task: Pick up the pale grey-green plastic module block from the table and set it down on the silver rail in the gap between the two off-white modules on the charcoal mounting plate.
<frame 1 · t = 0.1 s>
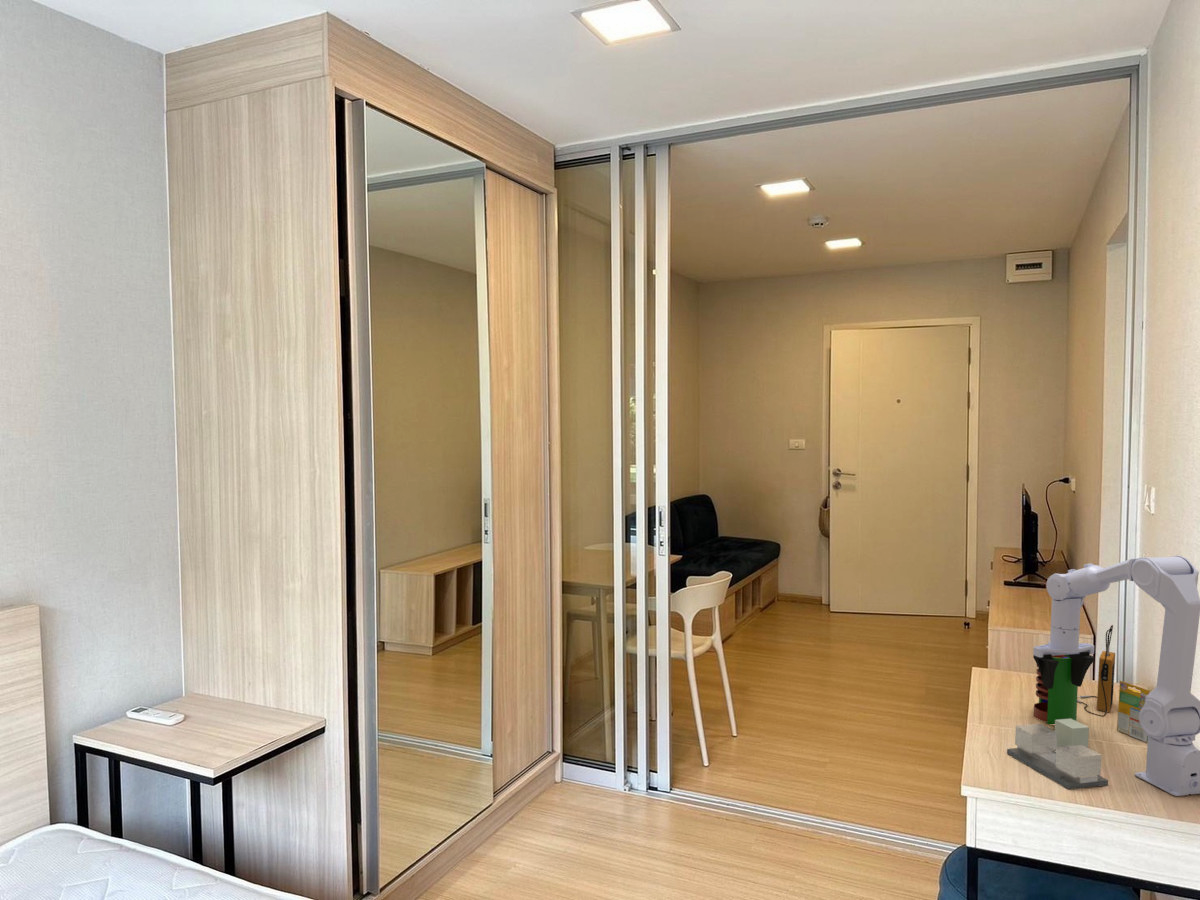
hand: (1062, 686, 195), 10 cm above the table, tool pointing down, fingers open, 7 cm apart
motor: (1054, 718, 203), on the table
module block: (1070, 751, 184), on the table
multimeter: (1087, 705, 212), on the table
rail board: (1055, 768, 174), on the table
crayon box: (1135, 736, 192), on the table
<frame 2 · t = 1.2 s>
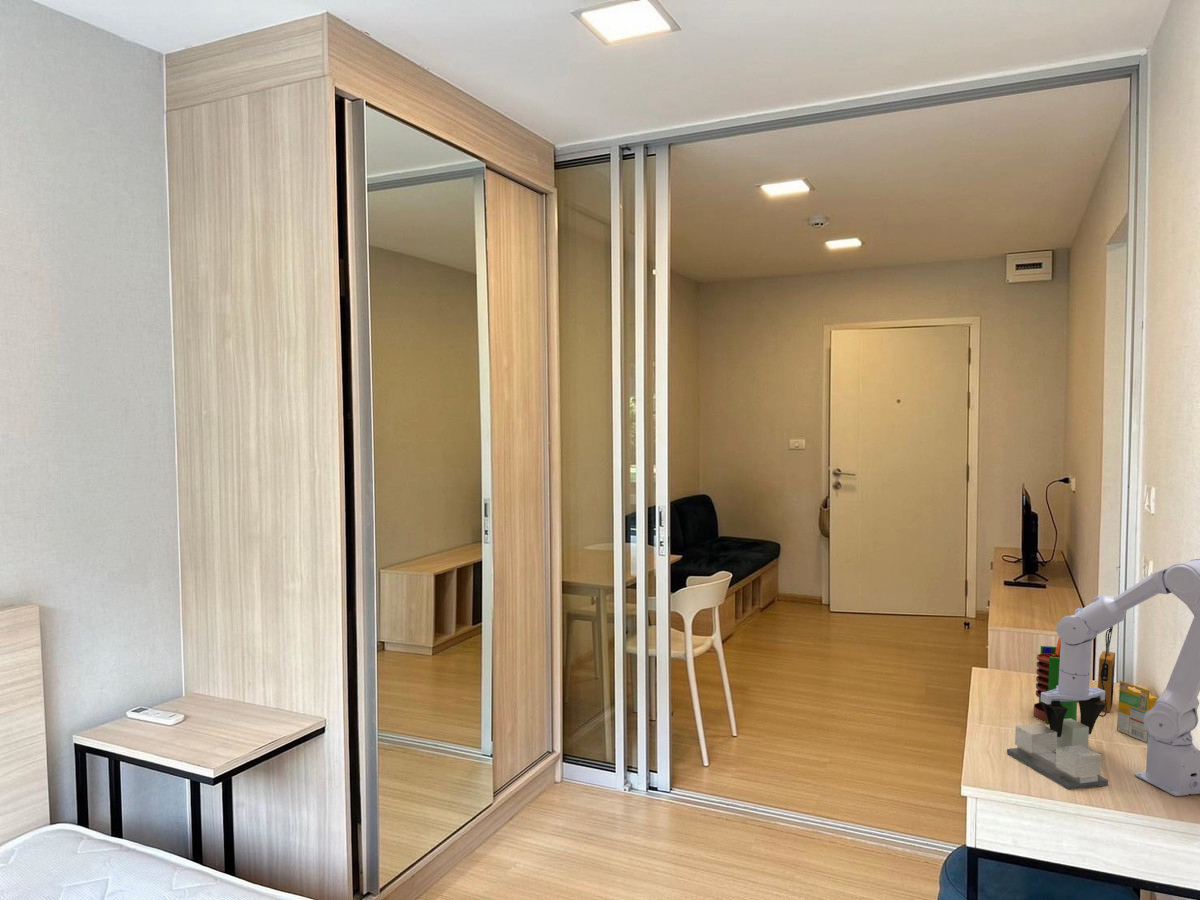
hand: (1070, 734, 183), 4 cm above the table, tool pointing down, fingers open, 7 cm apart
nothing on the table moved.
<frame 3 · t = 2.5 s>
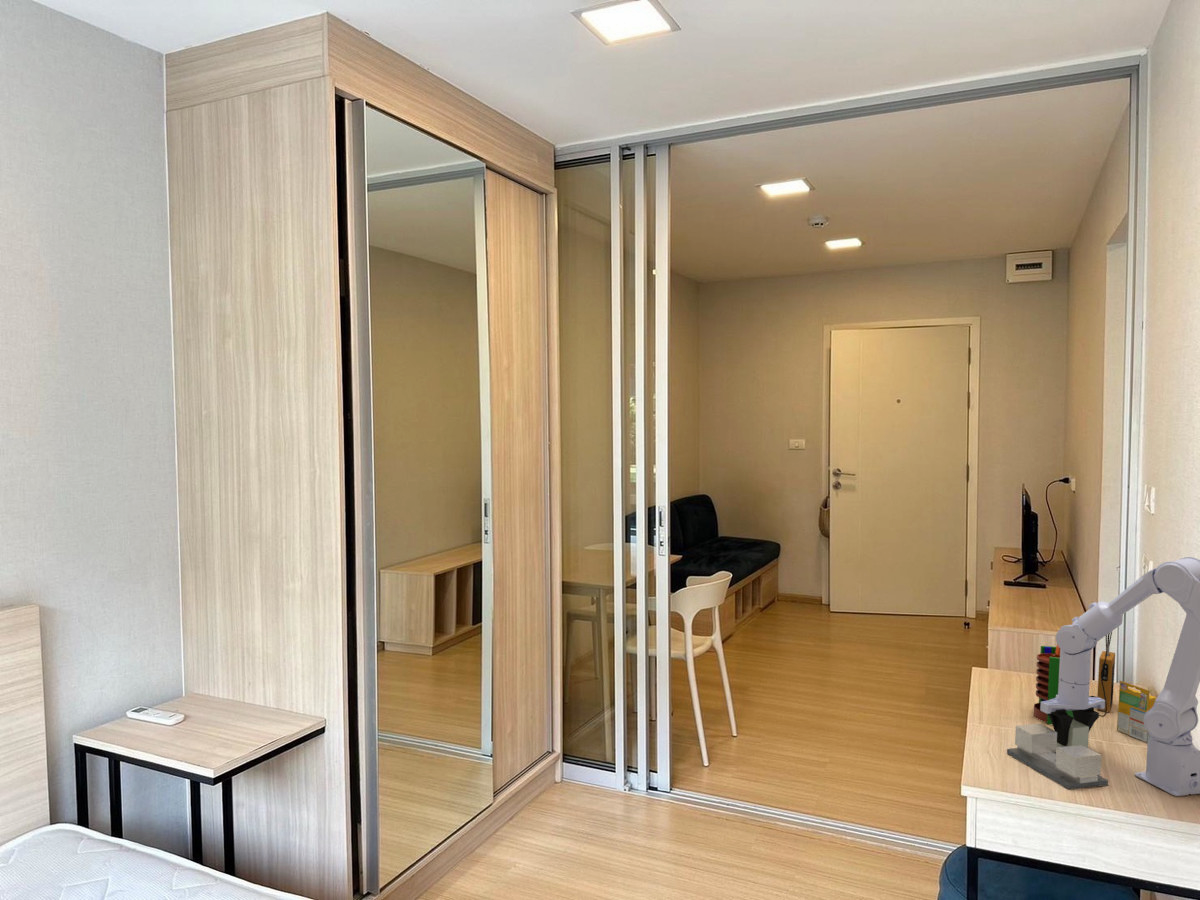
hand: (1070, 743, 183), 2 cm above the table, tool pointing down, fingers closed on module block, 4 cm apart
module block: (1070, 750, 184), on the table, touching gripper
everything else where it was.
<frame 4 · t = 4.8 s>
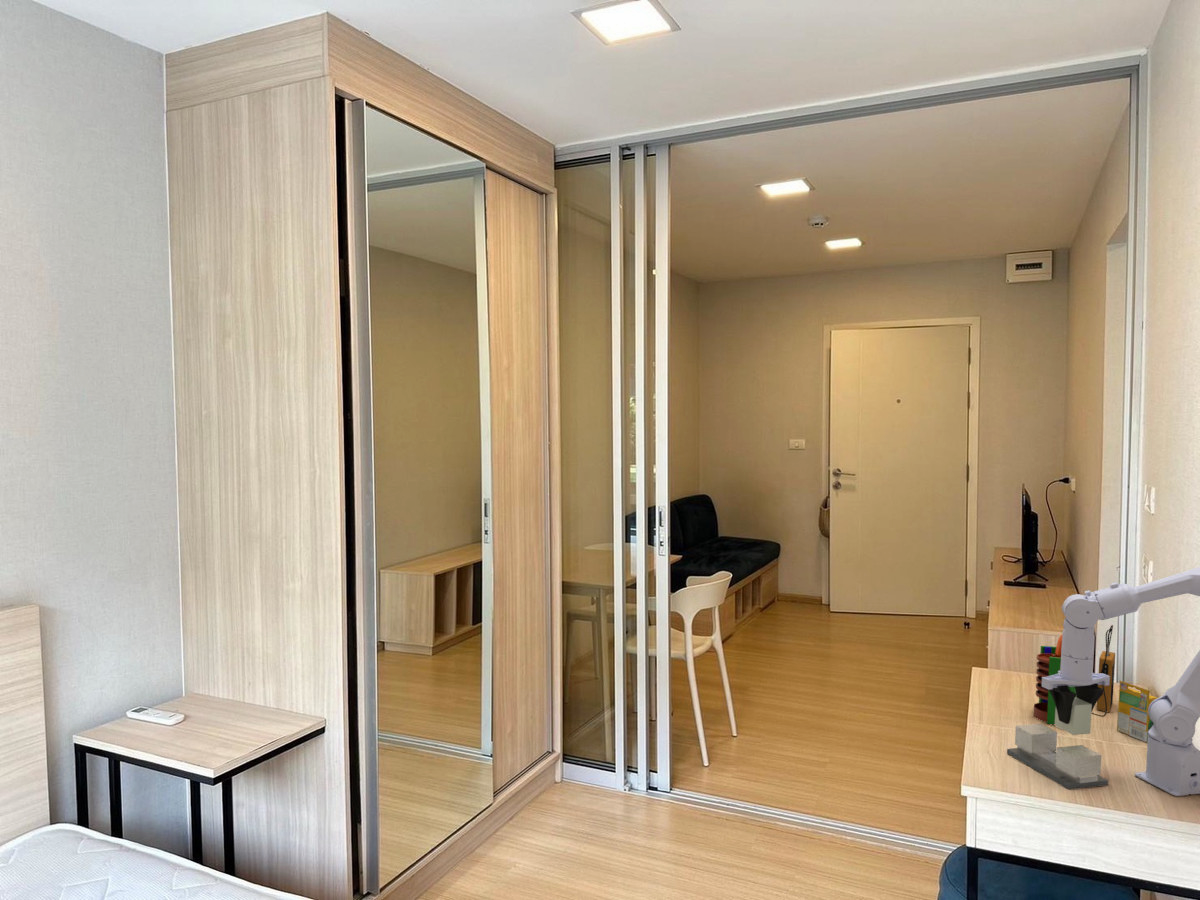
hand: (1073, 721, 175), 9 cm above the table, tool pointing down, fingers closed on module block, 4 cm apart
module block: (1072, 729, 175), point 8 cm above the table, touching gripper
everything else where it was.
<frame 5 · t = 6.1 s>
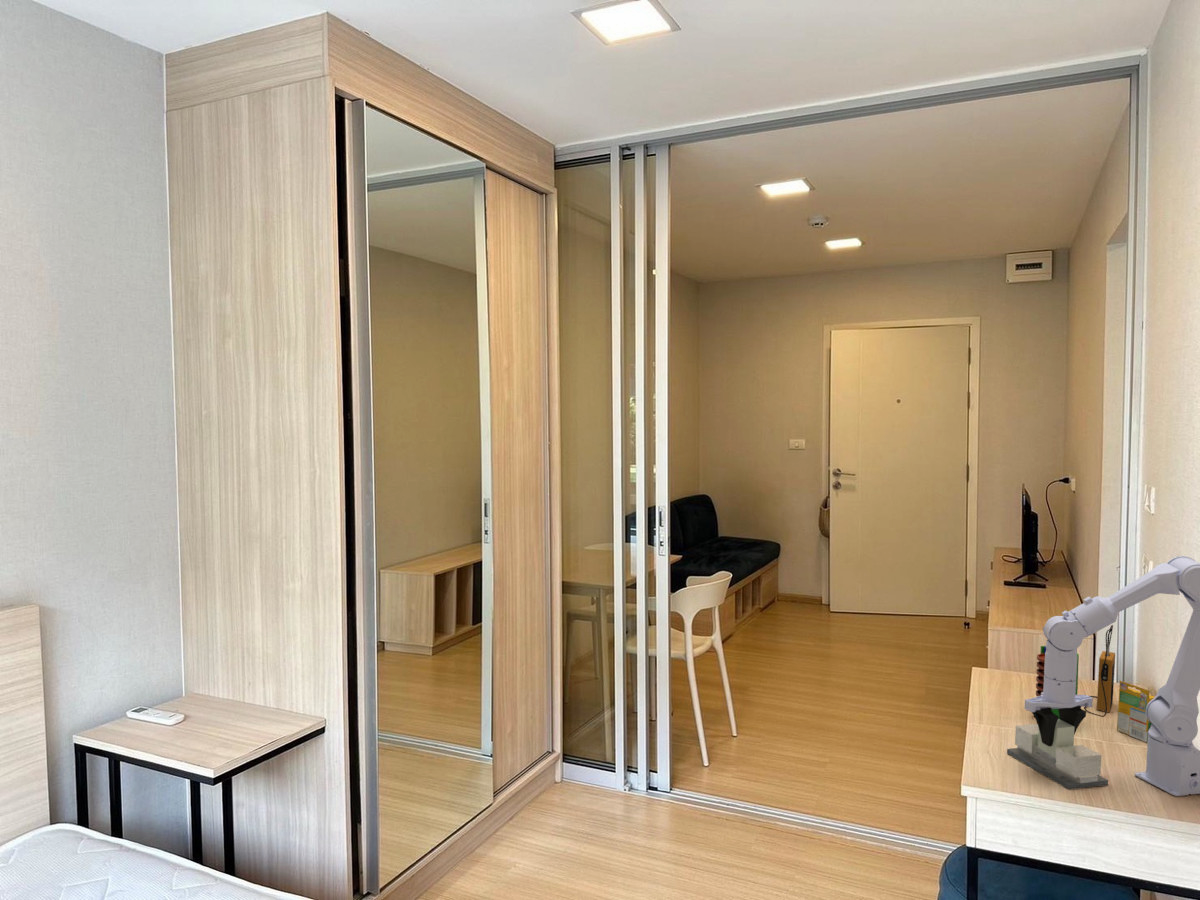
hand: (1056, 743, 174), 5 cm above the table, tool pointing down, fingers closed on module block, 4 cm apart
module block: (1055, 751, 174), point 3 cm above the table, touching gripper
everything else where it was.
when the fingers open (4 cm above the table, at t = 7.2 s): module block stays where it is, resting on rail board.
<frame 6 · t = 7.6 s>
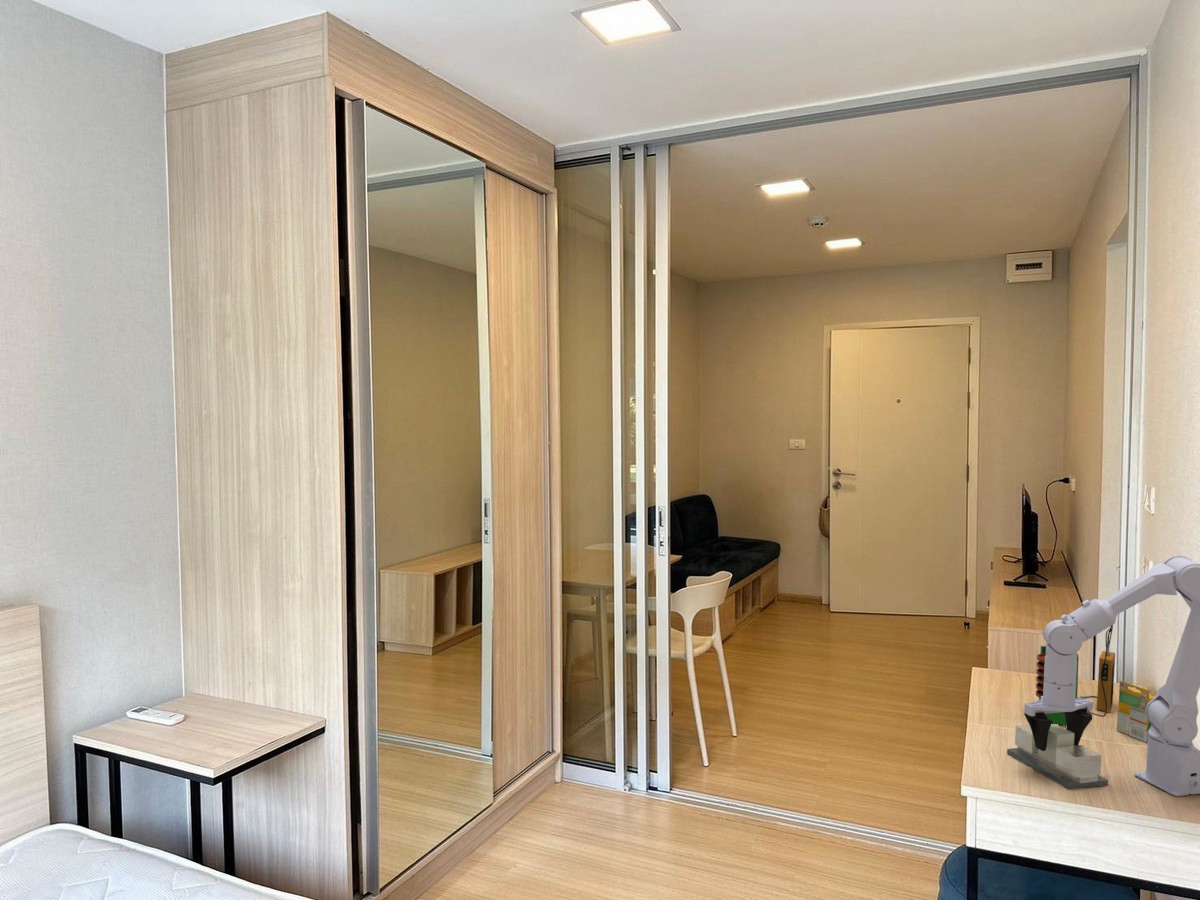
hand: (1056, 747, 174), 4 cm above the table, tool pointing down, fingers open, 7 cm apart
module block: (1055, 758, 174), point 2 cm above the table, touching rail board
everything else where it was.
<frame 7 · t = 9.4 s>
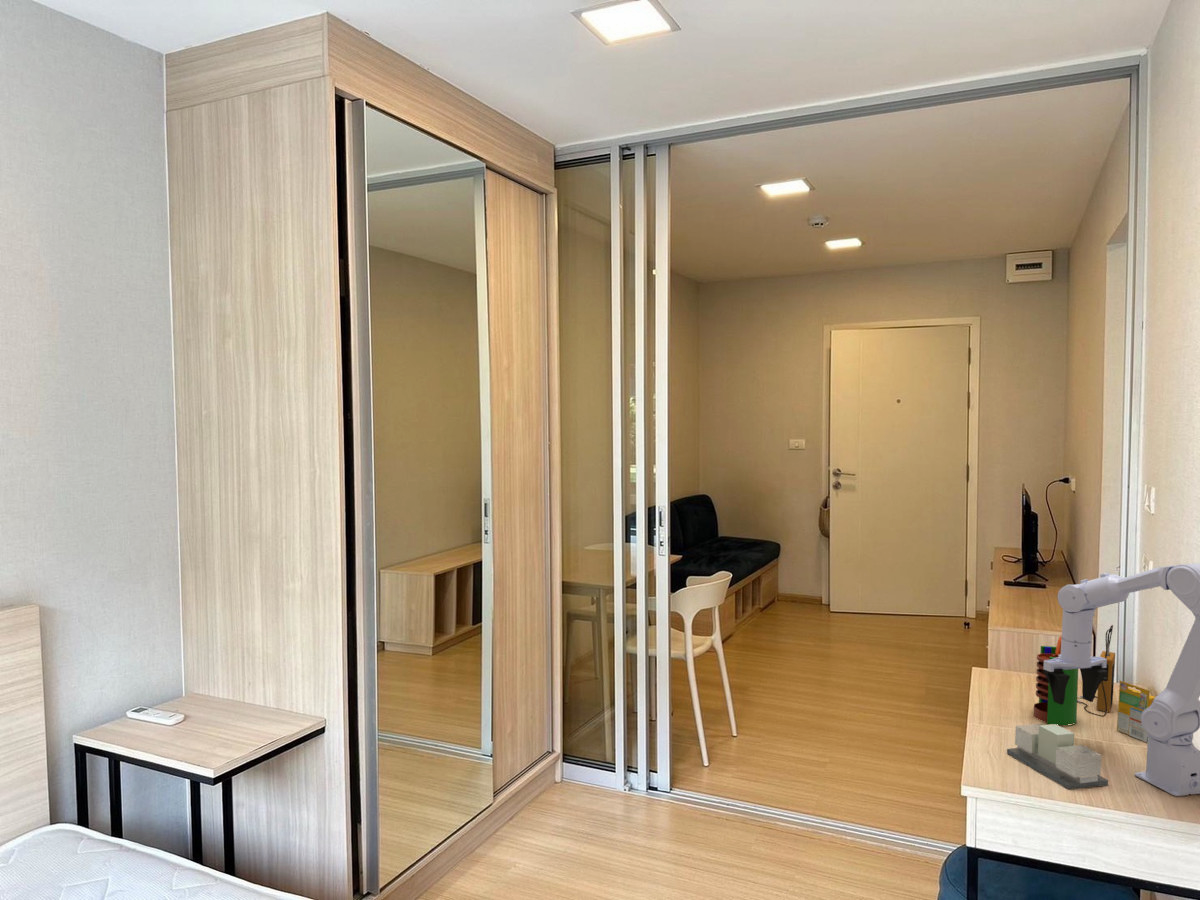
hand: (1073, 701, 186), 9 cm above the table, tool pointing down, fingers open, 7 cm apart
nothing on the table moved.
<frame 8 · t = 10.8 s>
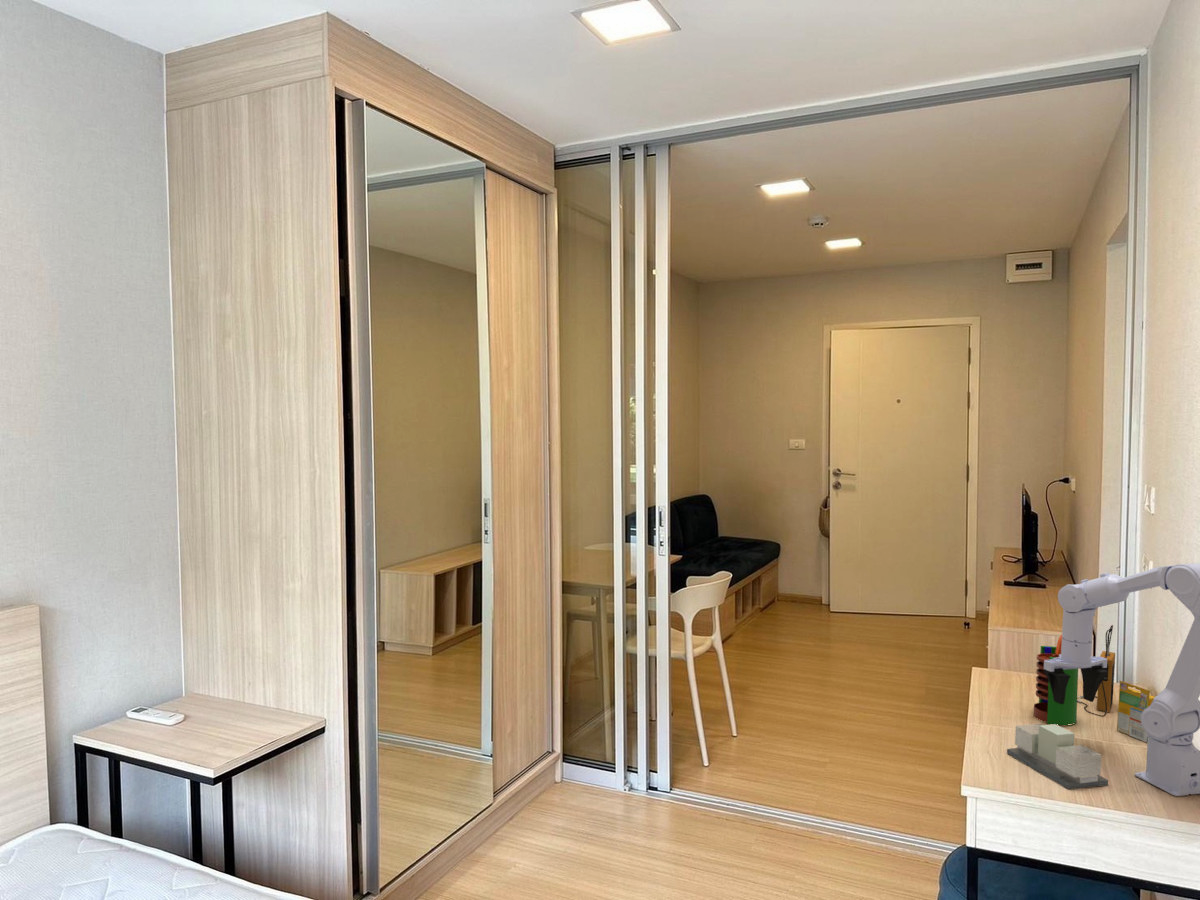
hand: (1073, 701, 187), 9 cm above the table, tool pointing down, fingers open, 7 cm apart
nothing on the table moved.
at the end: module block 0.2 cm off-centre on the rail board, point 2.0 cm above the rail board's base; module block tilted 0°; the gripper is holding nothing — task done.
